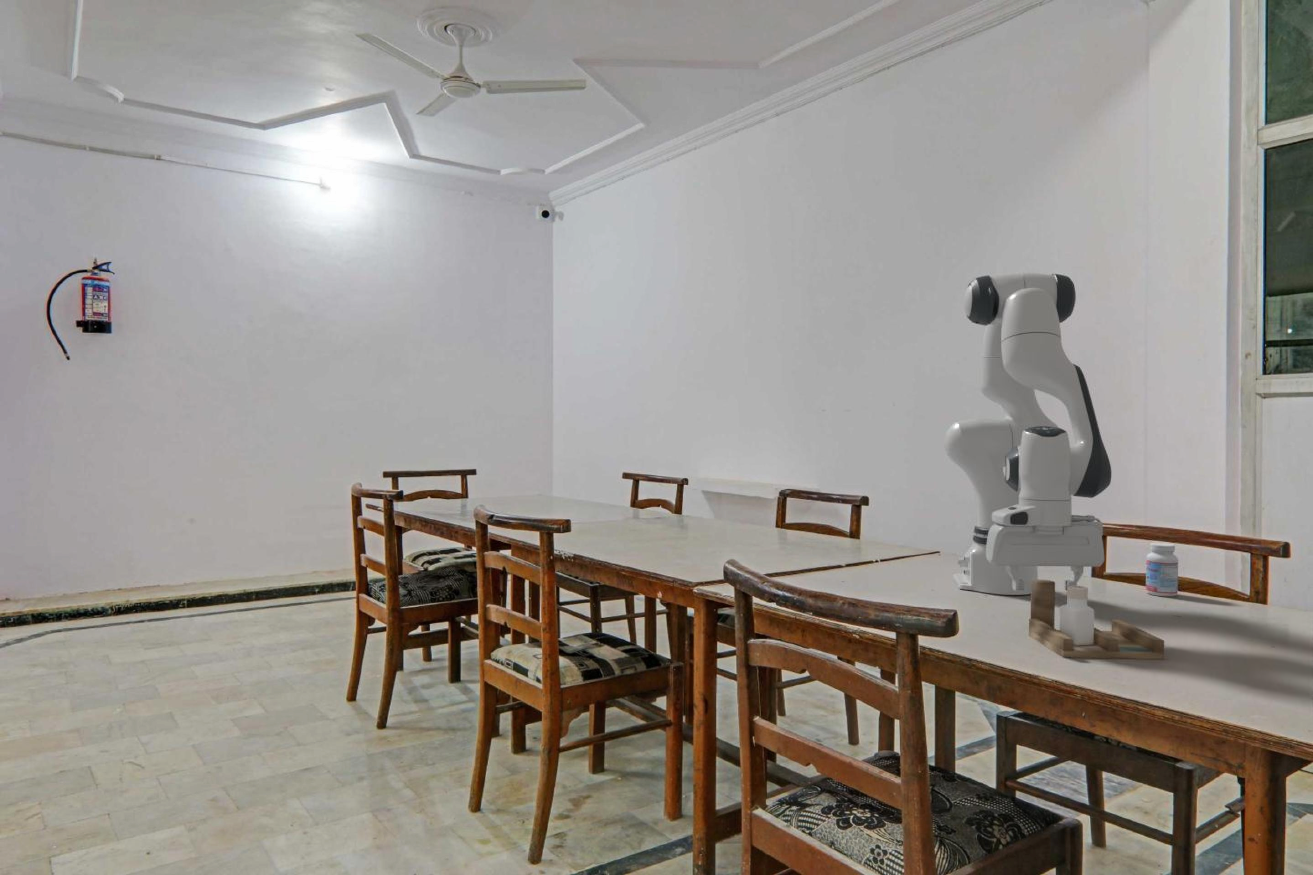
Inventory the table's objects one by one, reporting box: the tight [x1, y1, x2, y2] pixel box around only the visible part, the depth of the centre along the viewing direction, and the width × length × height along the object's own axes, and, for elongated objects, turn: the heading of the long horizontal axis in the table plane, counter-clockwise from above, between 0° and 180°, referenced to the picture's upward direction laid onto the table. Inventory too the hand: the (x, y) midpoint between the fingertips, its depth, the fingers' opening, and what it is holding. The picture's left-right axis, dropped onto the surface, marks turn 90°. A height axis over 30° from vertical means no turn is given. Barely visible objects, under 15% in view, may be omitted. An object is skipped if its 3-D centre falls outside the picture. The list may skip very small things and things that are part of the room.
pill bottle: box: [1145, 542, 1179, 598], centre depth 187 cm, size 6×6×11 cm
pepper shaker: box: [1059, 585, 1095, 646], centre depth 141 cm, size 4×4×10 cm
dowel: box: [1030, 578, 1056, 629], centre depth 154 cm, size 4×4×9 cm
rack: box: [1028, 618, 1165, 660], centre depth 143 cm, size 14×16×3 cm
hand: (1044, 590), depth 154 cm, fingers open, 8 cm apart
